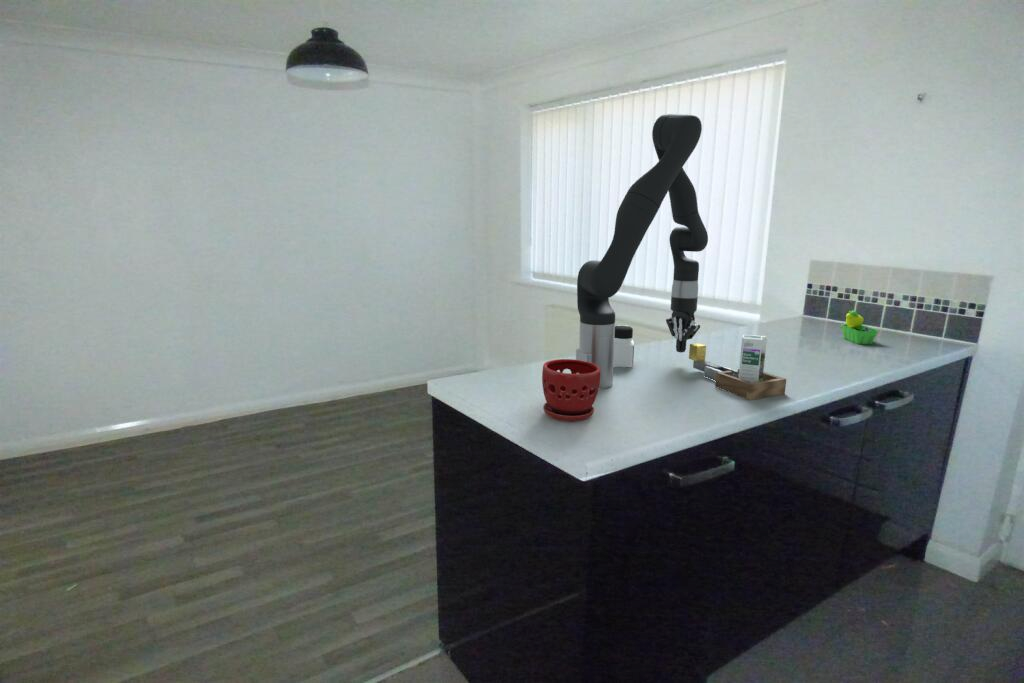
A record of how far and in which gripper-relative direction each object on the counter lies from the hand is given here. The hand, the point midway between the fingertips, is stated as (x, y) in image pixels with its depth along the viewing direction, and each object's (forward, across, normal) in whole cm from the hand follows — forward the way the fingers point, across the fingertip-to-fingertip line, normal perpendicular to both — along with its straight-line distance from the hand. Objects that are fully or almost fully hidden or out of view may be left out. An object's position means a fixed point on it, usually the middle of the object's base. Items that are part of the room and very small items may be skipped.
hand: (680, 351), depth 168 cm
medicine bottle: (+4, +8, +16) cm, 18 cm away
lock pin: (+3, -11, 0) cm, 11 cm away
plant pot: (+4, -24, +52) cm, 57 cm away
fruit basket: (+4, -1, -80) cm, 80 cm away
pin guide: (+4, -17, 0) cm, 18 cm away
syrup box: (+4, -27, 0) cm, 27 cm away
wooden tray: (+4, -27, 0) cm, 27 cm away
